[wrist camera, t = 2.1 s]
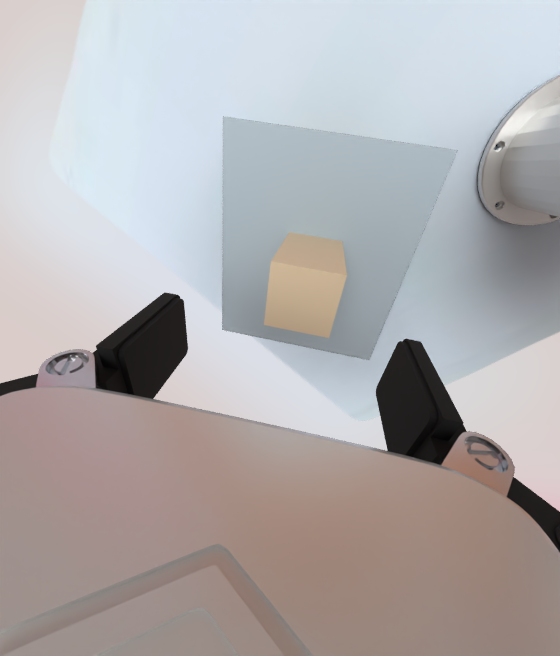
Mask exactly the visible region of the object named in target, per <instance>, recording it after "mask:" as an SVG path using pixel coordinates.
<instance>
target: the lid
mask: <svg viewBox="0 0 560 656" xmlns="http://www.w3.org/2000/svg"><path fill="white" fill-rule="evenodd" d="M457 151H458V150H453V149H446V148H439V147H432V146H425V145H418V144H411V143H404V142H397V141H390V140H383V139H376V138H369V137H362V136H355V135H348V134H342V133H335V132H328V131H321V130H314V129H307V128H300V127H293V126H286V125H279V124H272V123H265V122H258V121H251V120H244V119H237V118H231V117H224V116H223V281H222V316H223V317H222V324H223V325H222V330H226V331H231V332H236V333H240V334H245V335H250V336H255V337H260V338H265V339H270V340H274V341H279V342H284V343H289V344H294V345H299V346H303V347H308V348H313V349H318V350H323V351H328V352H332V353H337V354H342V355H347V356H352V357H357V358H361V359H366V360H369V359H370V357H371V354H372V352H373V350H374V347H375V345H376V343H377V340H378V338H379V335H380V333H381V331H382V328H383V326H384V324H385V321H386V319H387V317H388V314H389V312H390V309H391V307H392V305H393V302H394V300H395V298H396V295H397V293H398V290H399V288H400V286H401V283H402V281H403V279H404V276H405V274H406V271H407V269H408V267H409V264H410V262H411V260H412V257H413V255H414V253H415V250H416V248H417V245H418V243H419V241H420V238H421V236H422V234H423V231H424V229H425V226H426V224H427V222H428V219H429V217H430V215H431V212H432V210H433V207H434V205H435V203H436V200H437V198H438V196H439V193H440V191H441V189H442V186H443V184H444V181H445V179H446V177H447V174H448V172H449V170H450V167H451V165H452V162H453V160H454V158H455V155H456V153H457Z"/></svg>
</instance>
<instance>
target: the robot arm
mask: <svg viewBox="0 0 560 656" xmlns="http://www.w3.org/2000/svg"><path fill="white" fill-rule="evenodd" d="M496 144H497V145H498V146H497V148H496V149H495V150H494V148H495V145H496ZM478 190H479V194H480V198H481V201H482V202H483V204H484V206H485V207H486V209H487V210H488V211H489V212H490V213H491V214H492V215H493V216H495V217H497V218H499V219H500V220H502V221H505V222H508V223H511V224H517V225H539V224H545V223H550V222H553V221H556V220H559V219H560V75H559V76H557V77H555V78H553V79H551V80H549V81H547V82H545V83H544V84H542V85H541V86H539V87H538V88H536V89H535V90H533V91H532V92H530V93H529V94H528V95H527V96H526V97H525V98H524V99H522V100H521V101H520V102H519V103H518V104H517V105H516V106H515V107H514V108H513V109H512V110H511V111H510V112H509V113H508V115H507V116H506V117H505V118H504V119H503V120H502V122H501V123H500V125H499V126H498V127H497V129H496V130H495V132H494V133H493V135H492V137H491V138H490V140H489V142H488V144H487V146H486V148H485V150H484V153H483V156H482V159H481V162H480V167H479V173H478ZM497 202H498V204H497V206H495V204H496V203H497ZM185 323H186V321H185V310H184V301H183V300H182V299H180V296H178V295H175V294H170V293H164V294H162V295H161V296H160V297H158V298H157V299H156V300H154V301H153V302H152V303H151V304H149V305H148V306H147V307H145V308H144V309H143V310H142V311H140V312H139V313H138V314H137V315H135V316H134V317H132V318H131V319H130V320H129V321H127V322H126V323H125V324H123V325H122V326H121V327H120V328H118V329H117V330H116V331H114V332H113V333H112V334H111V335H109V336H108V337H107V338H105V339H104V340H103V341H102V342H100V343H99V344H98V345H97V346H96V348H97V350H96V351H95V352H93V353H91V352H90V351H87V350H81V349H75V350H68V351H65V352H61V353H58V354H56V355H53V356H52V357H50V358H49V359H47V360H46V361H45V362H44V363H43V364H42V365H41V367H40V369H39V373H38V374H36V375H31V376H28V377H24V378H20V379H16V380H12V381H8V382H4V383H1V384H0V656H560V512H559V511H558V510H556V509H555V508H554V507H552V506H551V505H550V504H548V503H547V502H546V501H545V500H543V499H542V498H541V497H539V496H538V495H537V494H535V493H534V492H533V491H531V490H530V489H529V488H527V487H526V486H525V485H523V484H522V483H521V482H519V481H518V480H517V479H516V478H514V477H513V476H514V468H515V467H514V465H513V462H512V460H511V458H510V457H509V456H508V454H507V453H506V452H505V451H504V450H503V449H502V448H501V447H500V446H499V445H498V444H497V443H495V442H494V441H493V440H491V439H489V438H488V437H486V436H484V435H481V434H479V433H476V432H470V431H469V432H467V431H466V429H465V427H464V425H463V421H462V419H461V417H460V415H459V414H458V412H457V410H456V408H455V406H454V404H453V402H452V400H451V398H450V396H449V394H448V392H447V391H446V389H445V387H444V385H443V383H442V381H441V379H440V377H439V375H438V373H437V372H436V370H435V368H434V366H433V364H432V362H431V360H430V358H429V356H428V354H427V353H426V351H425V349H424V347H423V345H422V343H421V342H419V341H414V340H409V339H404V340H403V342H401V341H400V342H398V344H397V346H396V348H395V350H394V352H393V354H392V356H391V358H390V360H389V362H388V365H387V367H386V369H385V371H384V373H383V375H382V377H381V379H380V381H379V383H378V386H377V388H376V397H377V402H378V406H379V411H380V416H381V421H382V425H383V430H384V435H385V440H386V444H387V449H388V451H385V450H380V449H377V448H372V447H368V446H364V445H359V444H355V443H351V442H346V441H342V440H337V439H333V438H328V437H324V436H320V435H315V434H311V433H306V432H302V431H297V430H293V429H289V428H284V427H279V426H274V425H270V424H266V423H261V422H257V421H252V420H248V419H243V418H239V417H234V416H229V415H224V414H220V413H215V412H211V411H206V410H202V409H196V408H192V407H187V406H183V405H178V404H174V403H169V402H164V401H160V400H155V399H153V398H154V397H155V395H156V394H157V393H158V391H159V390H160V389H161V387H162V386H163V385H164V383H165V382H166V381H167V379H168V378H169V377H170V375H171V374H172V373H173V371H174V370H175V369H176V367H177V366H178V365H179V363H180V362H181V361H182V359H183V358H184V357H185V355H186V354H187V350H188V344H187V333H186V324H185Z"/></svg>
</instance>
